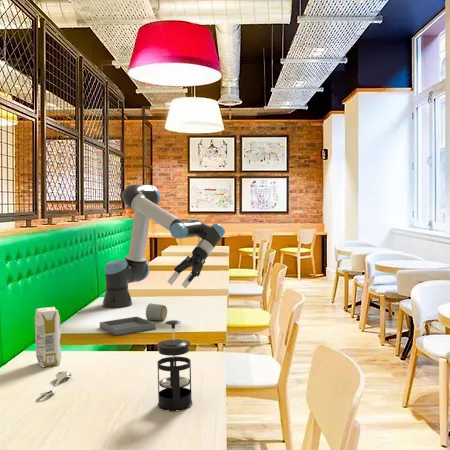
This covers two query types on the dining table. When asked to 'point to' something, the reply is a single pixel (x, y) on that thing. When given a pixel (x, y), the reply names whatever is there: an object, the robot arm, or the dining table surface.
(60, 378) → the grey elongated piece
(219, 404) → the dining table surface
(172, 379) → the french press
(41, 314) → the juice carton
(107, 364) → the dining table surface
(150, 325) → the tray
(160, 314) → the ceramic mug
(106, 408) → the dining table surface
